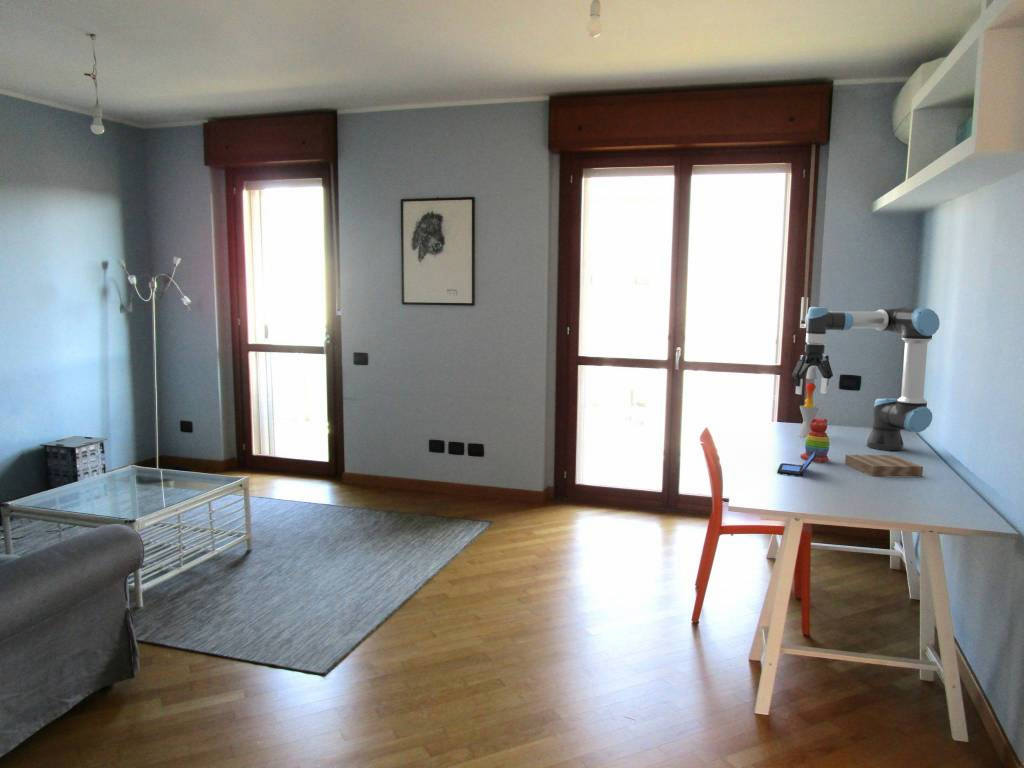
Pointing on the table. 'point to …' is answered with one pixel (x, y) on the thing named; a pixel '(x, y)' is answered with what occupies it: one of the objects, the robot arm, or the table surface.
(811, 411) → the lava lamp
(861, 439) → the table surface
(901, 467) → the walnut plinth
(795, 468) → the handheld game console
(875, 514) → the table surface
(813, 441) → the stacking bear
